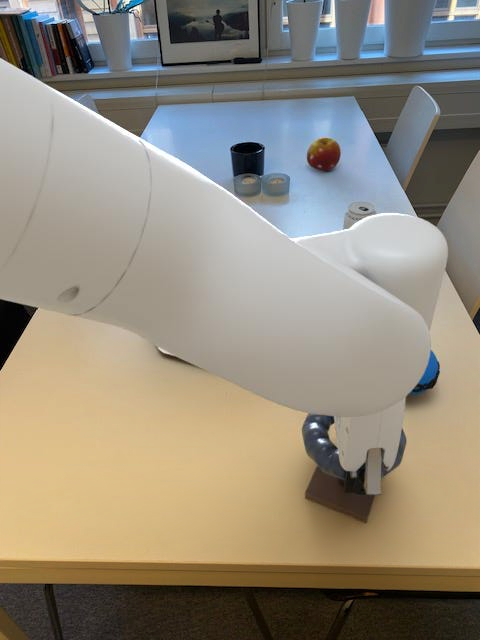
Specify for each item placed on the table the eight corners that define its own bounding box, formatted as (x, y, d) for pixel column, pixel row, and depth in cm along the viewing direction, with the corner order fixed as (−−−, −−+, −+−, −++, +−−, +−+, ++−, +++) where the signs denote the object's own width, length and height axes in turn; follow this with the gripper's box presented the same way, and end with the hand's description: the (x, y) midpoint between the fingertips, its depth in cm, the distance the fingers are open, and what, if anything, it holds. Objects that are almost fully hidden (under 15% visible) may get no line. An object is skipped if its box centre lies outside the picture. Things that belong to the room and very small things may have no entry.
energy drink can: (353, 263, 102) (361, 196, 93) (375, 276, 99) (385, 208, 89) (332, 274, 100) (338, 206, 90) (354, 287, 96) (362, 218, 86)
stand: (366, 523, 60) (376, 476, 53) (304, 497, 63) (307, 450, 56) (383, 471, 65) (394, 422, 58) (325, 449, 68) (330, 401, 61)
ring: (390, 503, 52) (394, 487, 50) (287, 465, 56) (287, 449, 54) (412, 422, 60) (416, 406, 58) (320, 394, 64) (322, 378, 62)
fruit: (316, 177, 136) (318, 148, 131) (300, 166, 142) (300, 138, 137) (346, 169, 139) (348, 141, 133) (328, 159, 145) (330, 131, 140)
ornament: (364, 384, 77) (371, 337, 70) (399, 359, 80) (409, 311, 74) (409, 417, 71) (422, 369, 65) (445, 388, 75) (460, 340, 69)
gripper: (324, 297, 49) (317, 413, 61) (343, 432, 37) (329, 546, 48) (400, 295, 49) (378, 413, 61) (446, 432, 36) (406, 547, 48)
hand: (356, 471), depth 54 cm, fingers closed on ring, 3 cm apart
